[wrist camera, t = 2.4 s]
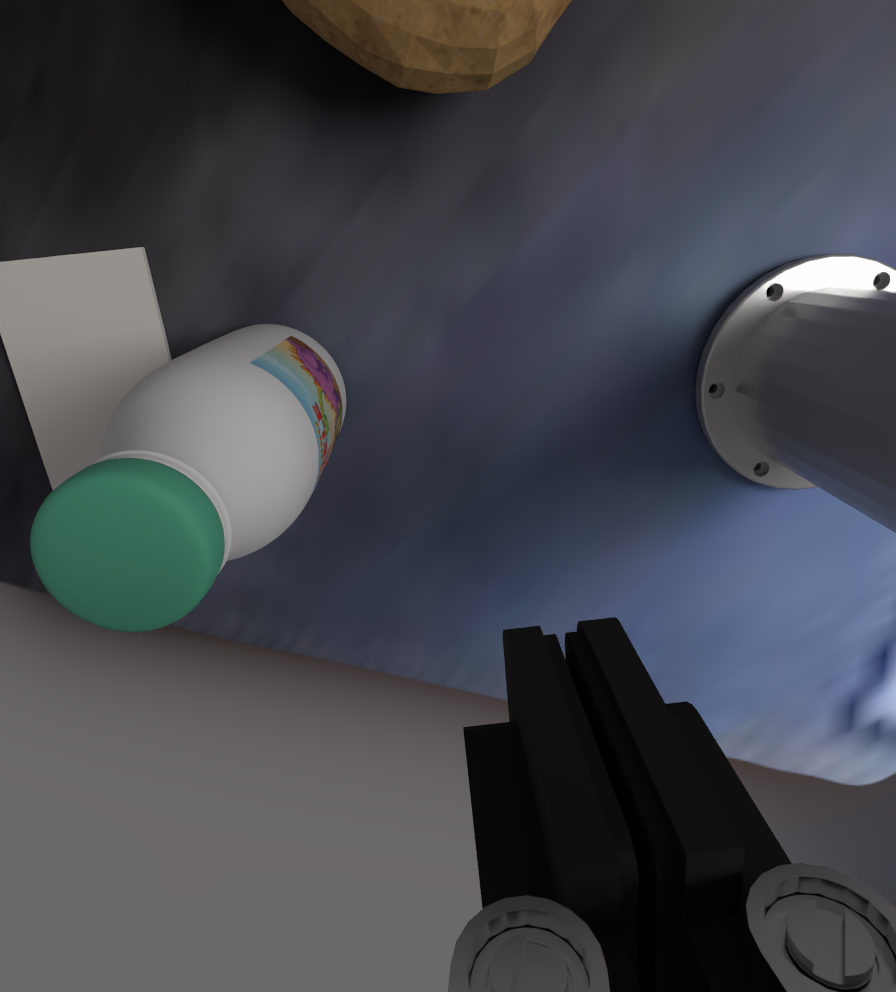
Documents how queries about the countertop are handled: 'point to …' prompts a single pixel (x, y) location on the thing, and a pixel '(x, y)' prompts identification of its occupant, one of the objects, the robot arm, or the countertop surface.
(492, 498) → the countertop surface
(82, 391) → the pad
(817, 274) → the robot arm
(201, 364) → the milk bottle
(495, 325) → the countertop surface
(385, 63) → the potato
